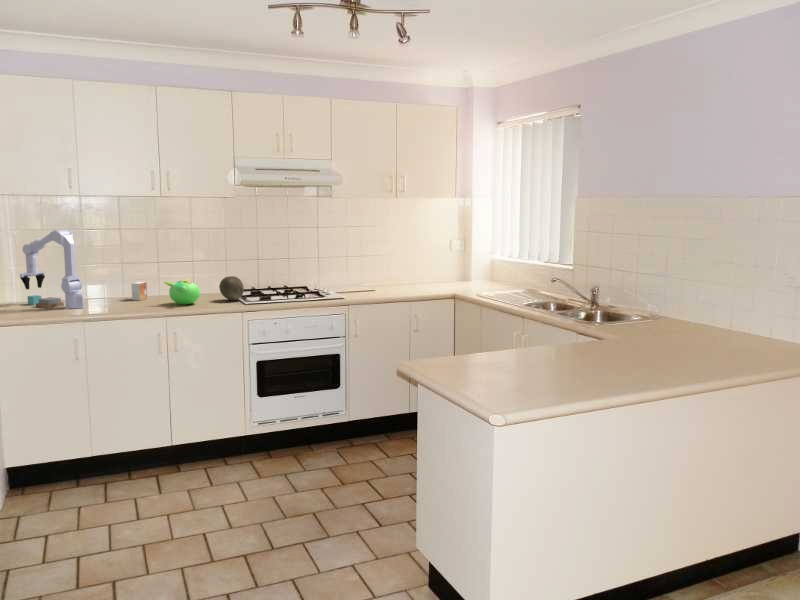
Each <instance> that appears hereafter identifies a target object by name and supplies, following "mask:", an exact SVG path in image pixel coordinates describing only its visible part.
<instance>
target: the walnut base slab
mask: <svg viewBox="0 0 800 600" xmlns="http://www.w3.org/2000/svg"><path fill="white" fill-rule="evenodd" d="M63 306H64V302H62V301H61V303H55V304H49V305H48V304H40V303H36V305H35V307H36V308H42V309H43V308H44V309H52V308H57V307H63ZM64 307H65V306H64Z"/></svg>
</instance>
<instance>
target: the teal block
mask: <svg viewBox="0 0 800 600" xmlns="http://www.w3.org/2000/svg"><path fill="white" fill-rule="evenodd" d="M39 299H42V296H41V295H38V294H37V295H36V294H35V295H27V305H29V306H36V303H39Z"/></svg>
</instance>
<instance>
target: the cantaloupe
mask: <svg viewBox="0 0 800 600" xmlns="http://www.w3.org/2000/svg"><path fill="white" fill-rule="evenodd" d="M218 287H219V291H220V293H221V295H222V296H223V297H224V298H225V299H226V300H229V301H234V302H235V301H237V300H239V299H241V298H242V297H243V296H244V295H243V294H244V291H245V290H244V289H245V288H244V284H243V281H242V280H241V278H239V277H237V276H234V275H233V276H232V275H231V276H225V277H224V278H222V279H221V280H220V283H219V286H218Z"/></svg>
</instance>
